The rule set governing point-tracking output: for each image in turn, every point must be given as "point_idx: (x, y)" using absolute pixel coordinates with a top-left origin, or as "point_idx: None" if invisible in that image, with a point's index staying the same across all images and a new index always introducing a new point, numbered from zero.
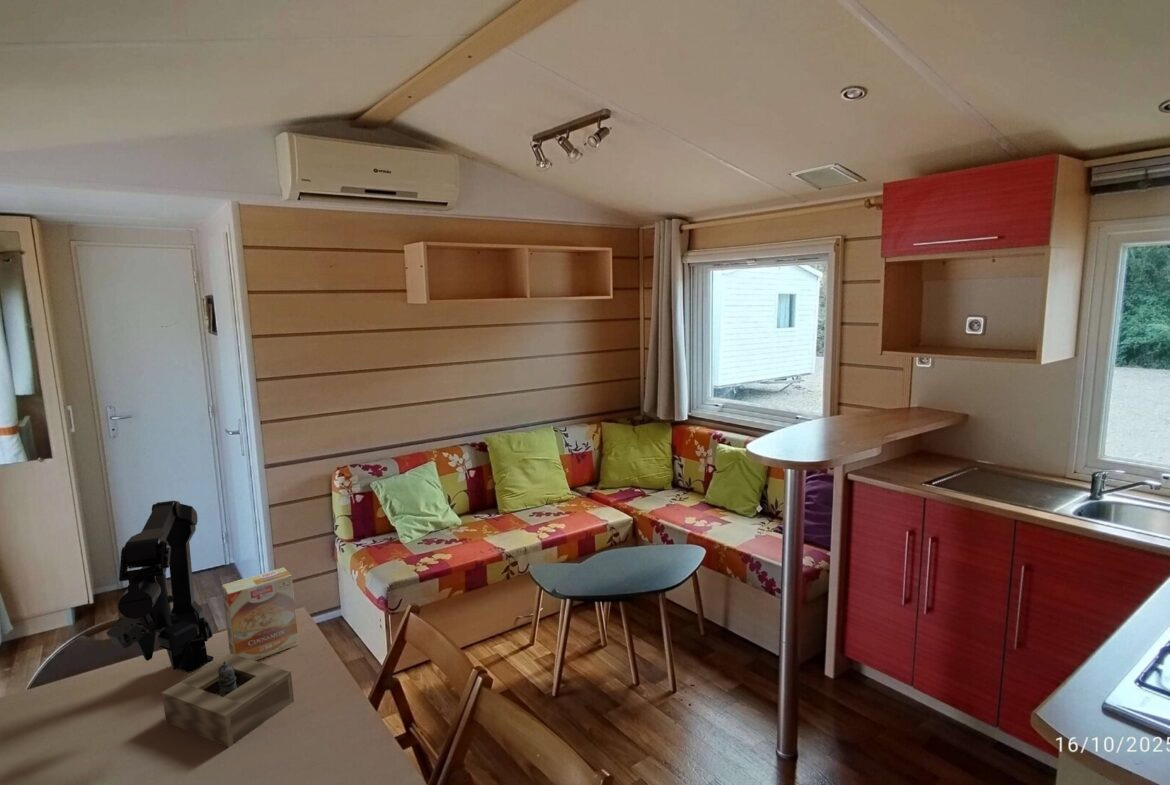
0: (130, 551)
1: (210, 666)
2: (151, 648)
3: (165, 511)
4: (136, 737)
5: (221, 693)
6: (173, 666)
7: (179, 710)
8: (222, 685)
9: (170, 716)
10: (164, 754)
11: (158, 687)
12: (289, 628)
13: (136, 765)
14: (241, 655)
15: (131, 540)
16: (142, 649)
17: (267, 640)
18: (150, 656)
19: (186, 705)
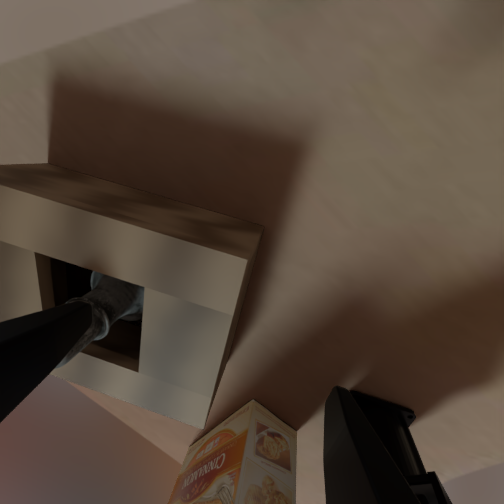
0: None
1: (204, 381)
2: (332, 486)
3: None
4: (297, 160)
5: (112, 287)
6: (48, 310)
7: (180, 220)
8: (76, 298)
9: (237, 226)
10: (163, 110)
11: (395, 345)
12: (177, 491)
13: (198, 50)
14: (241, 427)
15: None
16: (371, 489)
17: (203, 463)
18: (329, 416)
19: (126, 216)
